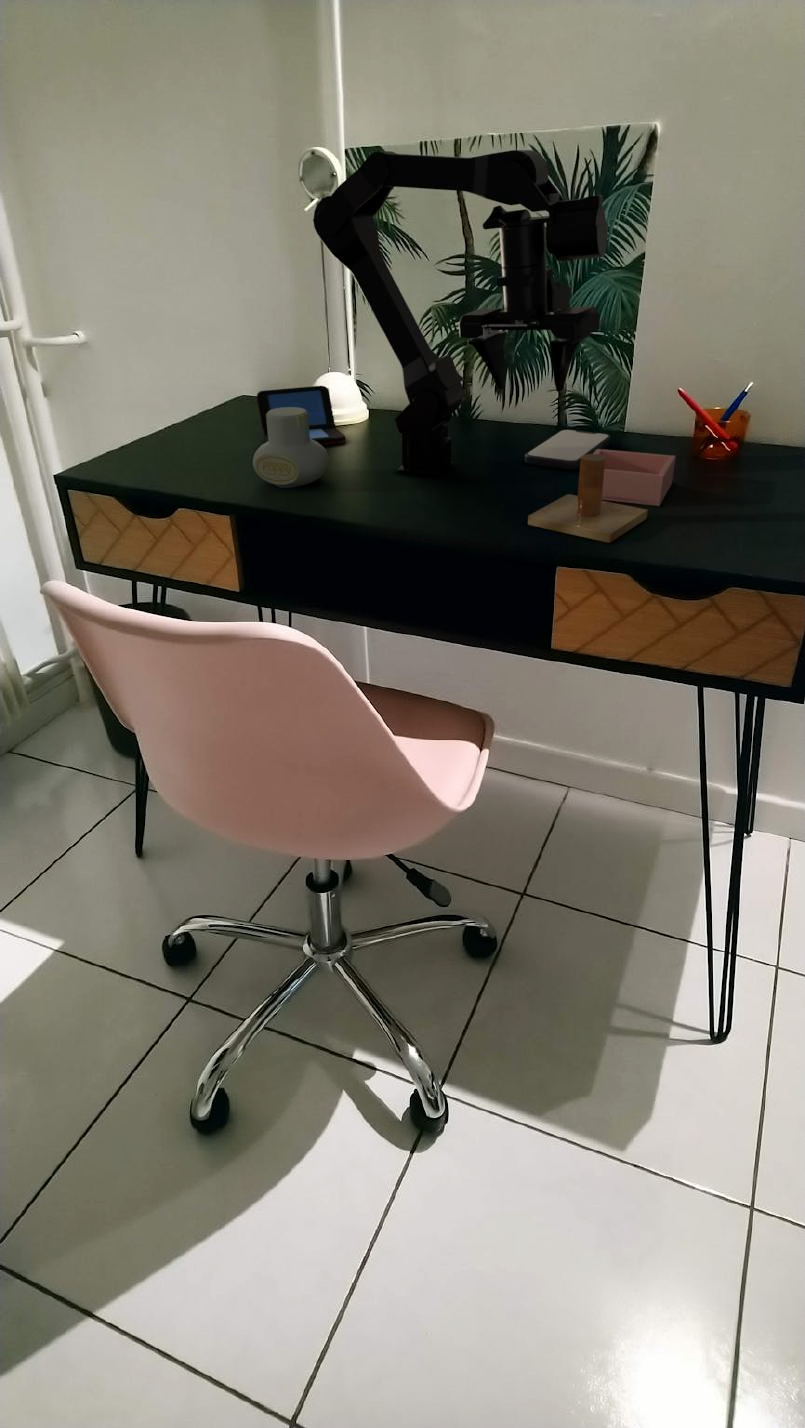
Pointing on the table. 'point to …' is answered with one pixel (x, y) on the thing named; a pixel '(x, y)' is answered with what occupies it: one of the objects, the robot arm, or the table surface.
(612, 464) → the toy box
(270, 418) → the air freshener
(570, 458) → the phone case
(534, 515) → the wooden peg stand
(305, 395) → the handheld console
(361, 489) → the table surface
